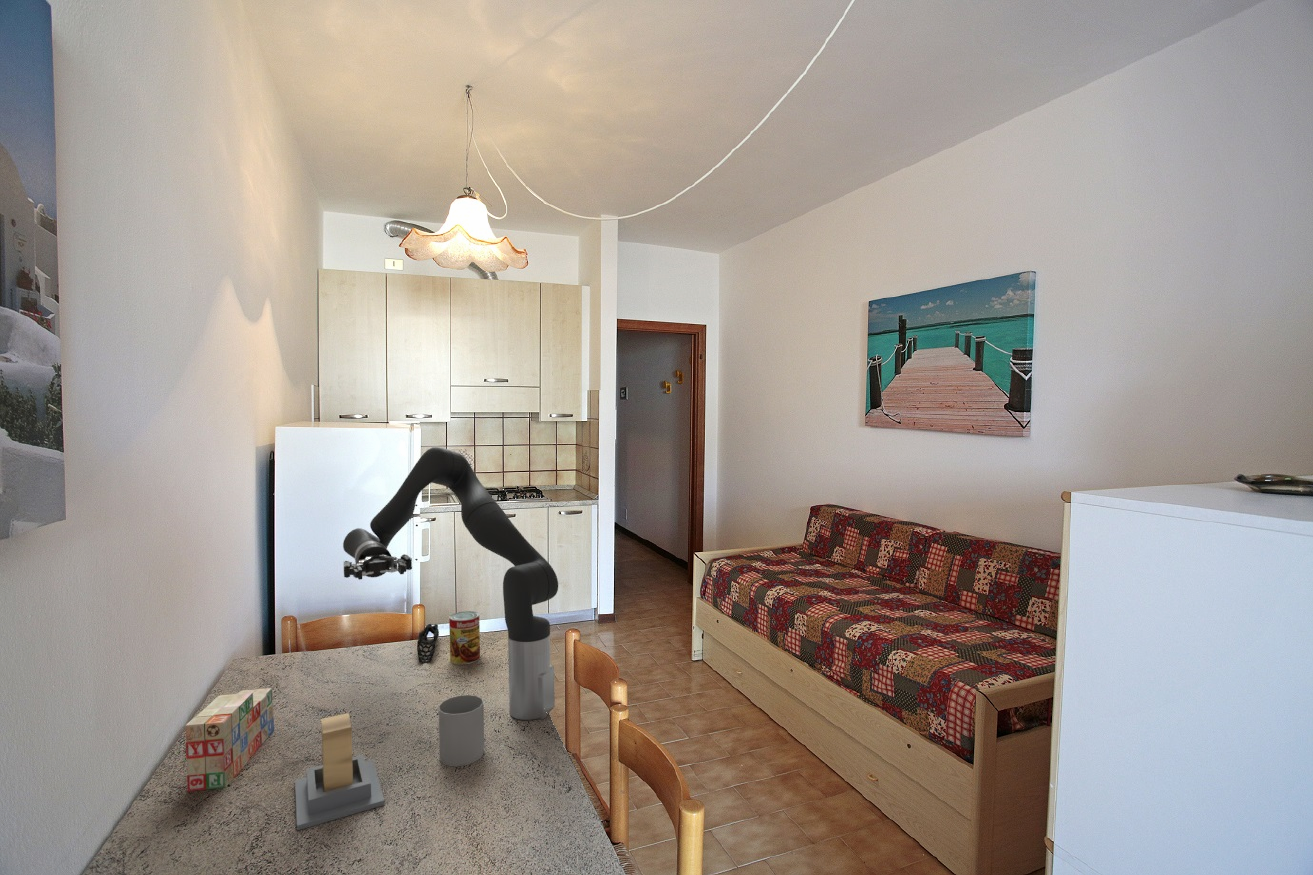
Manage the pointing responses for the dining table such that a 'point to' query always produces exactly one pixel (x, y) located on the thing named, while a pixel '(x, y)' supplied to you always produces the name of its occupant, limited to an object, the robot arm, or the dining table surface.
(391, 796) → the dining table surface
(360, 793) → the grey socket base
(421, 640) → the decorative element
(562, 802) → the dining table surface
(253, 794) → the dining table surface
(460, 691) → the dining table surface
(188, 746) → the stack of blocks
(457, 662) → the canned food
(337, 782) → the wooden block
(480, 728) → the cup
